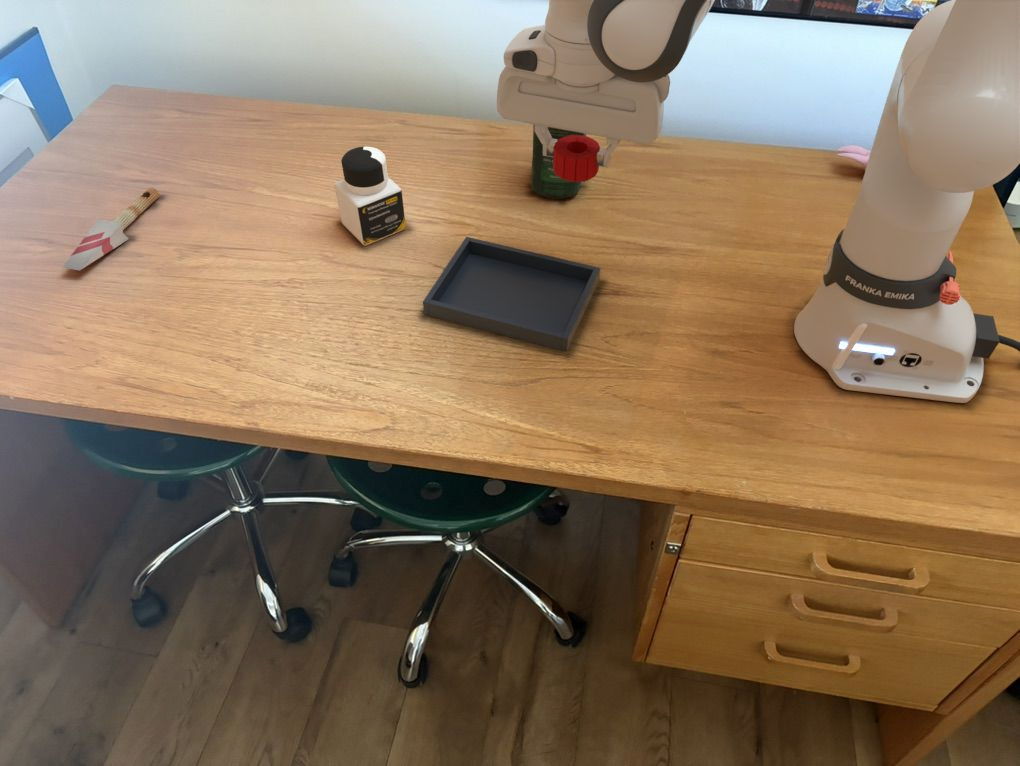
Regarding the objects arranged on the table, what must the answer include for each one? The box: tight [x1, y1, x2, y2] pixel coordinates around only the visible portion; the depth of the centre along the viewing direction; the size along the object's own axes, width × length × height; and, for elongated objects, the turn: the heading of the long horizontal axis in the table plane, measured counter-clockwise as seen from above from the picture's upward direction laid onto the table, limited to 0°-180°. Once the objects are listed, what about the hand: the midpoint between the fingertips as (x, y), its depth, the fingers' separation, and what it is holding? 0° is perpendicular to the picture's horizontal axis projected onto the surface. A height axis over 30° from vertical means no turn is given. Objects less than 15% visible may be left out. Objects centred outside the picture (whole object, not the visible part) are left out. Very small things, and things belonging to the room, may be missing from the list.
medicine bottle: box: [334, 146, 407, 247], centre depth 113 cm, size 7×7×12 cm
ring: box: [553, 135, 601, 183], centre depth 101 cm, size 6×6×3 cm
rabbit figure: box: [836, 144, 872, 172], centre depth 124 cm, size 6×6×15 cm
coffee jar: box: [531, 124, 587, 200], centre depth 118 cm, size 10×8×19 cm
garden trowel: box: [62, 187, 160, 272], centre depth 115 cm, size 4×3×20 cm
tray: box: [422, 236, 601, 352], centre depth 106 cm, size 20×15×3 cm
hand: (576, 159), depth 101 cm, fingers closed on ring, 5 cm apart
